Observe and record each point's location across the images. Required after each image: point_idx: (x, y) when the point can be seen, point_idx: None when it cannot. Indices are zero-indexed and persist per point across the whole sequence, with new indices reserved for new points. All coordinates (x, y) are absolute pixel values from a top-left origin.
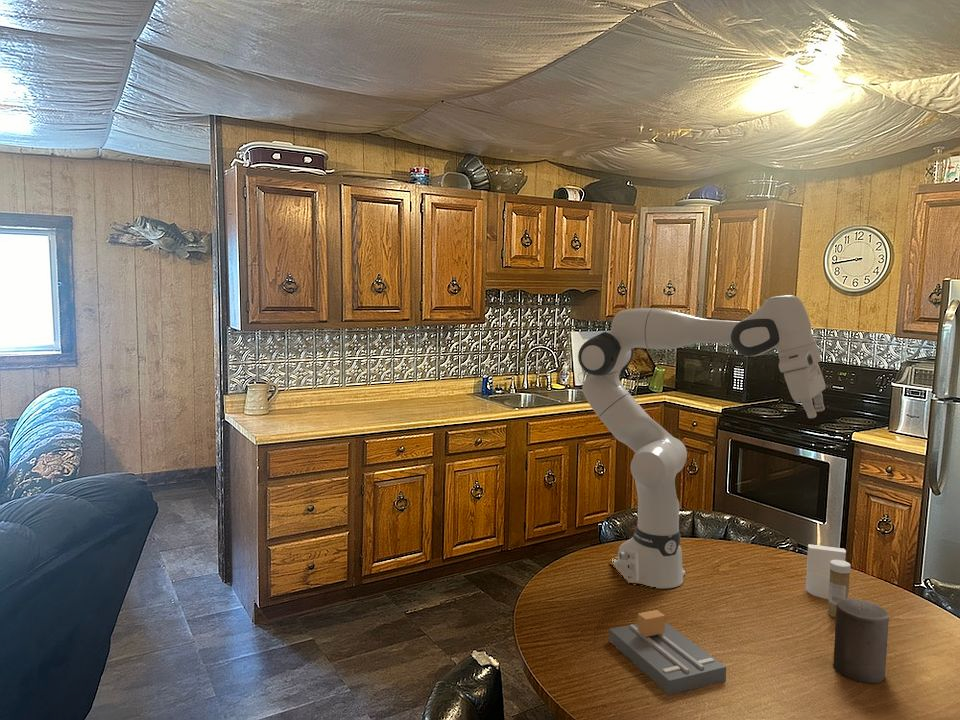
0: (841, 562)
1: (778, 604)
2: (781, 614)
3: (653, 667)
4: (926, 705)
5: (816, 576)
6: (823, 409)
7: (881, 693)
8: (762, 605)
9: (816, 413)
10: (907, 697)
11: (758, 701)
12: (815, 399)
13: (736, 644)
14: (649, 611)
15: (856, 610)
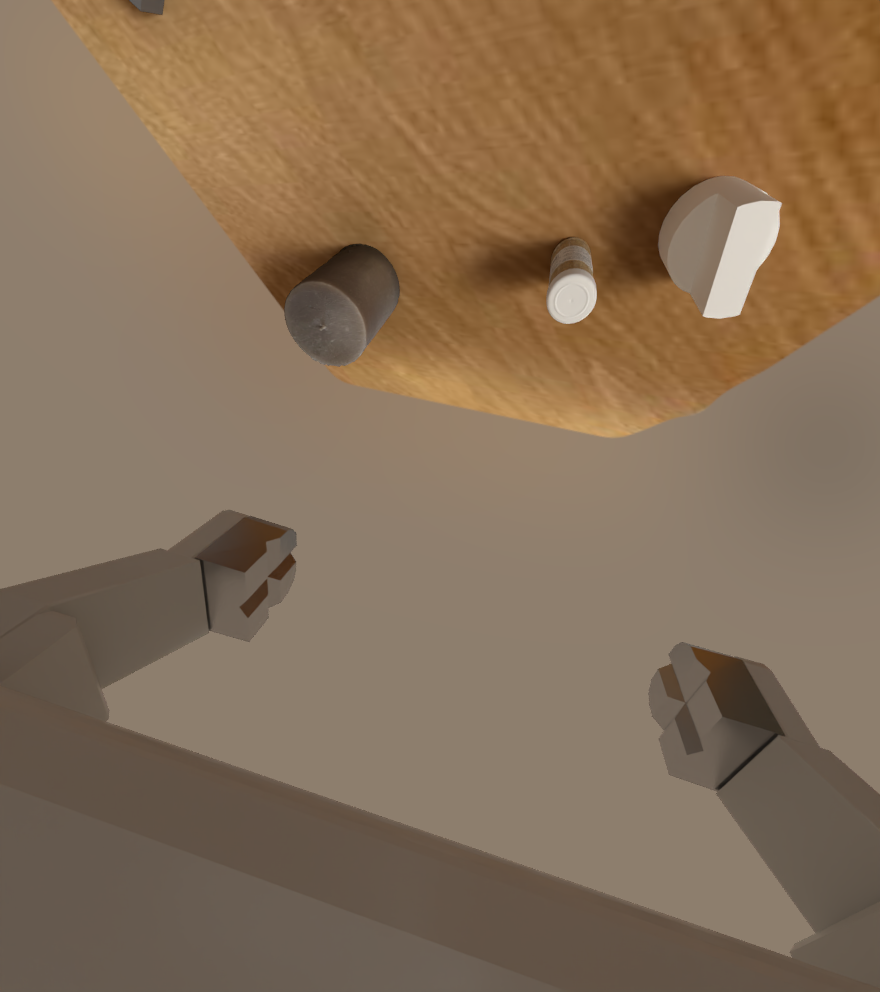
0: (573, 303)
1: (591, 97)
2: (529, 115)
3: None
4: None
5: (683, 217)
6: (650, 701)
7: None
8: (571, 41)
9: (271, 603)
10: None
11: (160, 109)
12: (855, 849)
13: (314, 2)
14: None
15: (306, 315)
